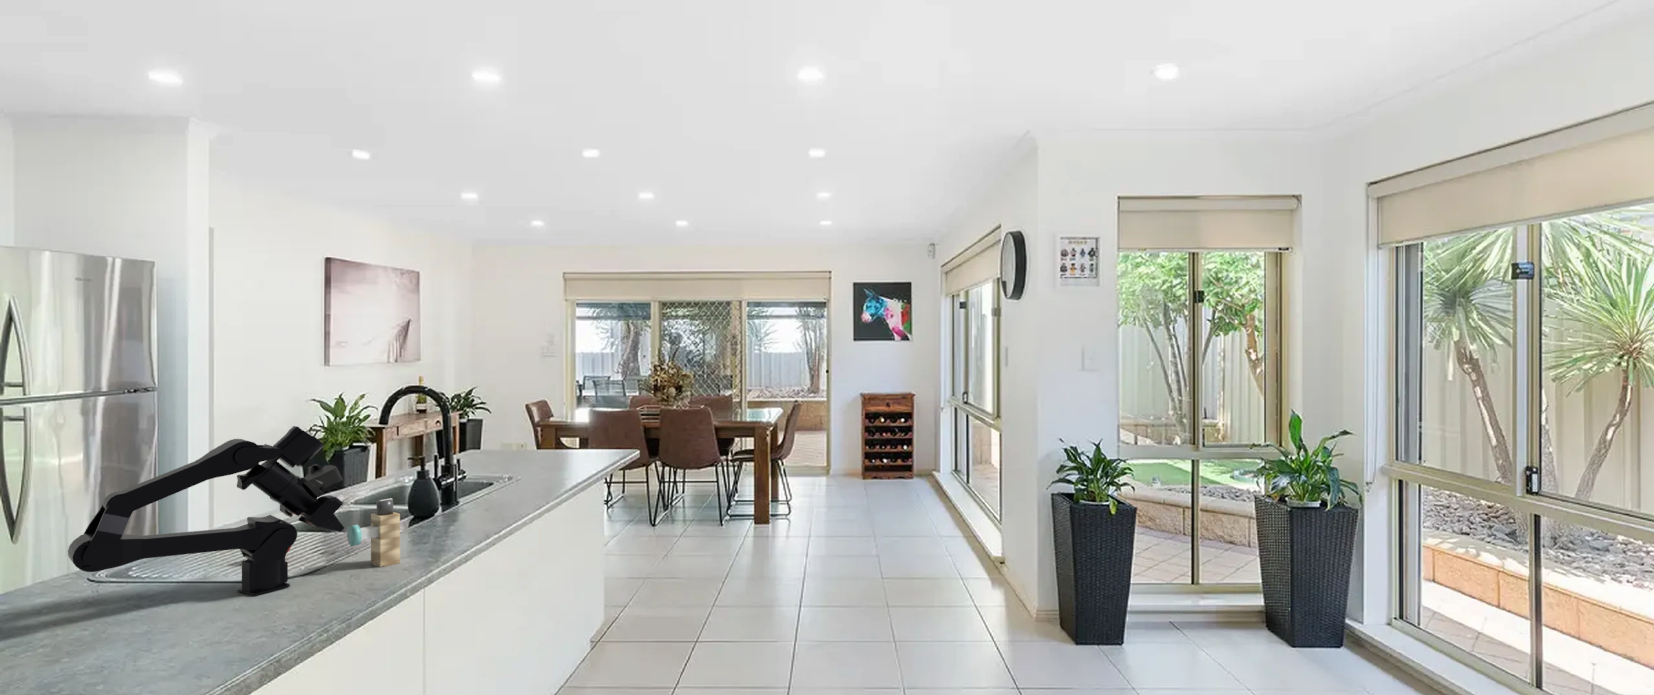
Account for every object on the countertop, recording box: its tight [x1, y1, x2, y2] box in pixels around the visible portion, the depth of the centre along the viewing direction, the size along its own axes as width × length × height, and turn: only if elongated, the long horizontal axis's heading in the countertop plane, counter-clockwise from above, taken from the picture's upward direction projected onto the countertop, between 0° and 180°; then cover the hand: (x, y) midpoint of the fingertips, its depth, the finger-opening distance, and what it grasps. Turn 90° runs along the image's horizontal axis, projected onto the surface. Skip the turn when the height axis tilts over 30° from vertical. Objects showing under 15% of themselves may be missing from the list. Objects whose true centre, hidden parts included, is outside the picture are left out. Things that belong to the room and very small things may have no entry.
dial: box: [375, 497, 395, 515], centre depth 166 cm, size 3×3×3 cm
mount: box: [370, 511, 401, 568], centre depth 166 cm, size 4×5×11 cm
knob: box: [346, 524, 379, 547], centre depth 163 cm, size 6×4×4 cm
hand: (341, 529), depth 159 cm, fingers closed
